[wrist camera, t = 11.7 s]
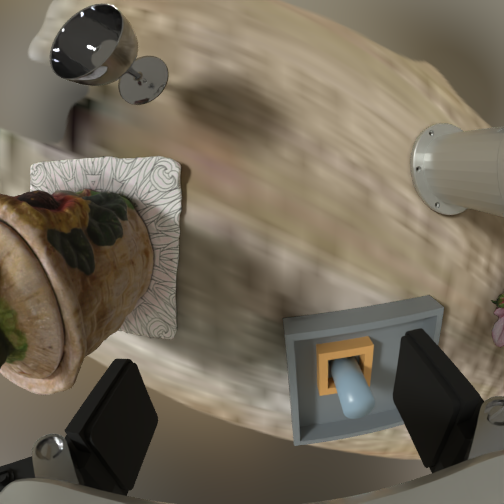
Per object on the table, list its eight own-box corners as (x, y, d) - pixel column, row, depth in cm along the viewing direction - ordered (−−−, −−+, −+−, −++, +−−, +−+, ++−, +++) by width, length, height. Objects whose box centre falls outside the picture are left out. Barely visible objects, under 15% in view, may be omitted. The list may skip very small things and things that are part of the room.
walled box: (429, 294, 38) (443, 307, 34) (410, 403, 44) (419, 419, 39) (282, 318, 40) (284, 335, 35) (292, 427, 45) (294, 445, 41)
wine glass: (157, 113, 33) (98, 83, 19) (107, 101, 33) (38, 76, 19) (180, 58, 32) (137, 4, 17) (129, 49, 31) (72, 4, 17)
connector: (355, 348, 40) (376, 392, 30) (354, 370, 41) (373, 414, 31) (328, 352, 40) (344, 398, 30) (328, 374, 41) (342, 421, 31)
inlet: (368, 335, 39) (373, 345, 37) (365, 377, 41) (369, 386, 38) (316, 344, 39) (318, 354, 37) (317, 385, 41) (319, 395, 39)
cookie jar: (181, 338, 41) (92, 543, 10) (47, 311, 41) (-80, 420, 10) (186, 157, 35) (-64, 129, 4) (37, 160, 35) (-146, 183, 4)
